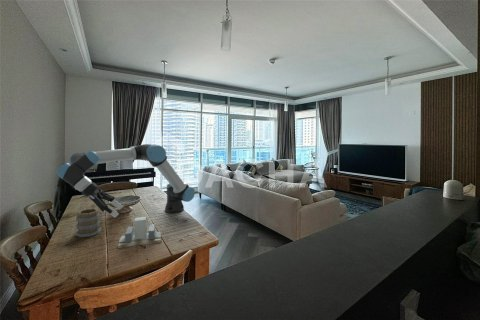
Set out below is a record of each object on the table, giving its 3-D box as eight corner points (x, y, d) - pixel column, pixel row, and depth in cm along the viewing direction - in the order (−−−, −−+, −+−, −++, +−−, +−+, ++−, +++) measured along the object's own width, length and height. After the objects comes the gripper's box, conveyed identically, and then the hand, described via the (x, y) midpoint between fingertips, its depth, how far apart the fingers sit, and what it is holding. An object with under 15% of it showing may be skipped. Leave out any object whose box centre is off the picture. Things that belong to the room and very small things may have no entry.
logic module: (146, 234, 132) (146, 216, 131) (146, 238, 128) (145, 219, 127) (135, 235, 130) (135, 217, 129) (134, 239, 126) (134, 220, 125)
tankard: (97, 235, 134) (96, 212, 133) (72, 238, 131) (71, 213, 129) (106, 223, 153) (105, 202, 152) (85, 225, 150) (84, 204, 148)
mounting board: (161, 233, 139) (160, 230, 138) (160, 242, 127) (160, 238, 127) (121, 238, 131) (121, 235, 131) (118, 247, 120) (117, 244, 120)
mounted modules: (154, 231, 136) (154, 224, 136) (154, 238, 127) (154, 230, 126) (128, 235, 131) (127, 226, 131) (125, 242, 122) (125, 233, 121)
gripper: (88, 187, 129) (118, 209, 135) (72, 198, 105) (109, 225, 112) (98, 177, 130) (127, 200, 136) (84, 186, 107) (120, 214, 113)
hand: (119, 211), depth 124 cm, fingers open, 13 cm apart
